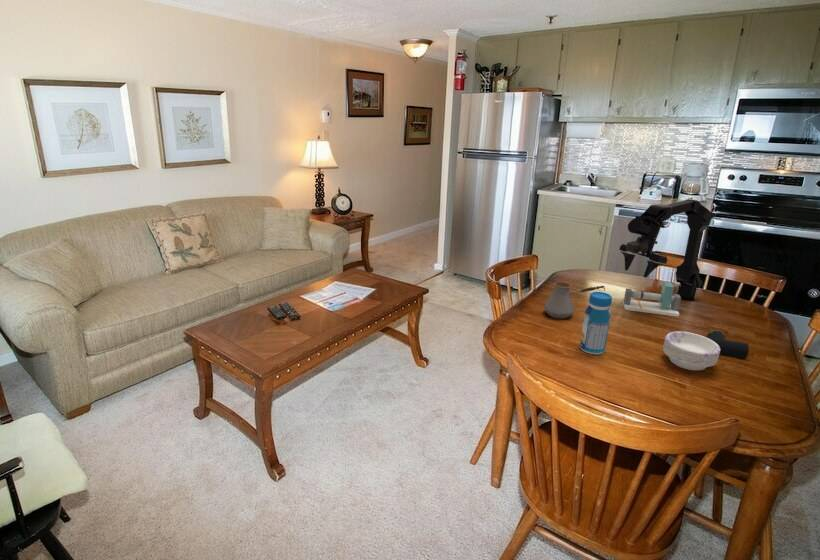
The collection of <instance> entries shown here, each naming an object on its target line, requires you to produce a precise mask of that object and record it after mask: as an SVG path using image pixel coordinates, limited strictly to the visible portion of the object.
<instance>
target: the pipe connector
mask: <svg viewBox="0 0 820 560" xmlns="http://www.w3.org/2000/svg"><path fill="white" fill-rule="evenodd" d="M703 336H704V335H703ZM704 337H706V338H709V339H711V340H712V341H714V342H715V343H717V344H718V345H719V347H720V354H719V355H725V356H730V357H735V356H736V357H737V358H741V359H746V358H747V357H748V355H749V351H750V350H749V347H750V346H749V344H748V343H746V342H740V341H735V340H728V339H726V334H725V333H724V331H723V330H718V329H711V328H709V330H708V333H707V334H706V335H705V336H704Z"/></svg>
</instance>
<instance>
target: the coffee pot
mask: <svg viewBox="0 0 820 560" xmlns="http://www.w3.org/2000/svg"><path fill="white" fill-rule="evenodd" d="M553 286H554V290H553V291H552V293H551V295H550V296H549V298H548V299H547V301H546V302H545V304H544V310H545V312H546V313H547V314H548V316H550V317H551V318H555V319H567V318H569V317H570V316H572V315H573V313H575V307H574V304H573V300H572V298H571V295H575V294H578V293H585V292H593V291H596V290H600V289H603V292H605V291H606V287H605V285H601V286H598V285H597V286H592V287H591V286H590V287H587V288H583V289H579V290H574V291H569V290H570V288H572V285H571V284H570V283H568V282H563V281H562V282H561V281H557V282H555V283H553Z"/></svg>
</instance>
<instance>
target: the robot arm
mask: <svg viewBox="0 0 820 560" xmlns="http://www.w3.org/2000/svg"><path fill="white" fill-rule="evenodd" d="M683 213H684V214H685V215H686V216H687V221H686V223H687V226H688V228H689V233H688V238H687V242H686V248H685V252H684V258H683V262H681V264H680V265H677V266H676V271H675V273H674V274H675V280H676V283H679V284H678V285H677V287H676V291H675V294H678V295H680V297H681V300H687V301H694V302H695V301H696V298H695V297H696V293H697V289H699V288H701V287H702V285H703V283H704V281H702V279H701V277H700V270H701V269H700V267H699V266H698V259H699V254H700V250H701V244H702V241H703V236H704V232H705V231H706V229H707V228H708V227H710V224H711V221H712V219H713V213H712V212H711V210H710V209H708V208H707V207H706V206H704V205H703V204H702V203H701V202H700V201H699V200H697V199H691V198H687V199H685V200H681V201H677V202H673V203H668V204H651V205H649V206H648V208H647V209H646V210H645V211H644V212H643V213H641V214H640V215H636V216H635V218H633V219H631V220H630V221H629V222H628V224H627V231H628V232H630V233H631V234H634V235H639V236H638V237H637V238H636V240H632V241H629V242H627V243H626V244H624V243H622V244H621V245H620V246H619V249H618V250H619V251H620V253H621V254H622V255H623V257H624V271H628V270H629V269H630V267H631V265H632V263H633V262H634V259H635V257H636V255H639V256H642V257H644V258H645V257H646V258H648V259H649V260H646V262H647V265H646V269H645V271H644V274H643V278H647V277H648V276H649V275H650V274H651V273H652V272H653V271H655V270H656V269H657V268H658V267H659V266H662V265H664V264H665V265H666V264H667V262H668V257H667V256H666V255H663V254H659V253H654V252H655V251H653V250H654V246H655V245H657V244H658V241H657V238H658V236H659V233H660V231H661V229H665V228H666V226H665V224H664V222H665V221H668V220H670V219H671V218H672V216H675V215H680V214H683Z"/></svg>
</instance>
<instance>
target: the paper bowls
mask: <svg viewBox="0 0 820 560" xmlns="http://www.w3.org/2000/svg"><path fill="white" fill-rule="evenodd" d="M706 337H707V336H706ZM706 337H704V335H701V334H697V333H693V332H689V331H671V332H669V333H667V334H666V335H665V337H664V342H663V346H662V351H663V353H664V354H665V355H666V356H667V357H668V359H669V360H670V362H671V363H672V364H674V365H675V366H677V367H679V368H681V369H684V370H689V371H703V370H706V368H710V367H713V366H715V365H716V364H717V362H718V360H719V357H720V355H721V354H720V347H719V345H718V344H717V343H715V342H714V341H712V340H711V339H709V338H706Z"/></svg>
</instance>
